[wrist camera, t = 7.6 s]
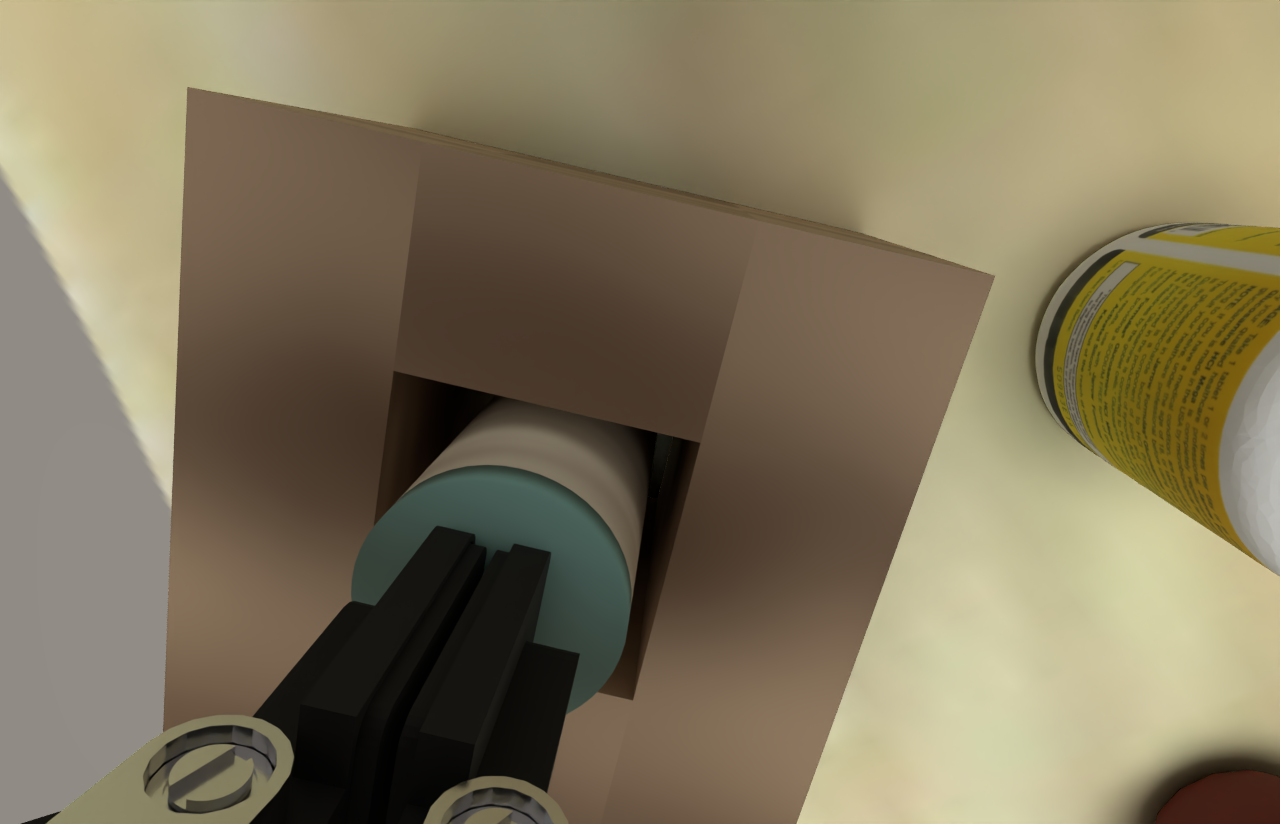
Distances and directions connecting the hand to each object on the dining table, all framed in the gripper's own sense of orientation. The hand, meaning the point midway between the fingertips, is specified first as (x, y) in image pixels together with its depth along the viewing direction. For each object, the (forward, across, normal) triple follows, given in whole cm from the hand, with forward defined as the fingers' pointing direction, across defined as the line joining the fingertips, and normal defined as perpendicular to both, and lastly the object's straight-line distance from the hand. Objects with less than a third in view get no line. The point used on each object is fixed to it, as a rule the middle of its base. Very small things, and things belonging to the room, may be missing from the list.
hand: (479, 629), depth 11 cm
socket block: (+11, 0, +5) cm, 12 cm away
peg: (+9, 0, 0) cm, 9 cm away
